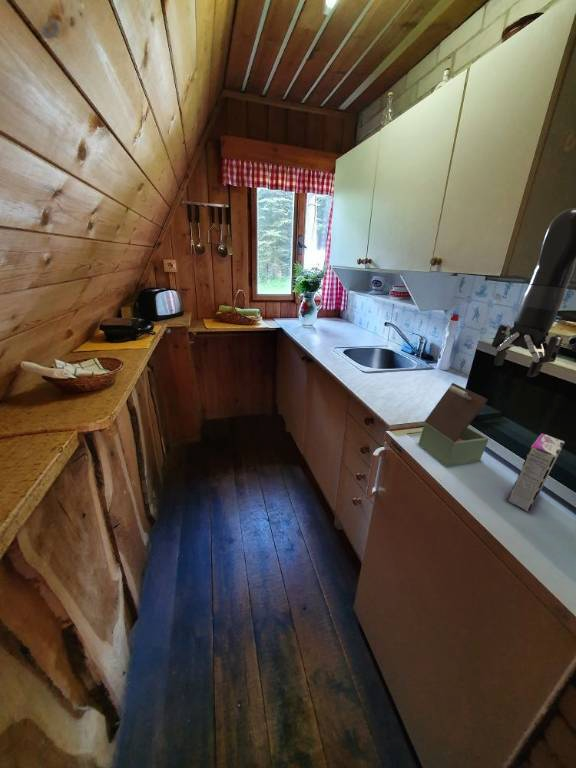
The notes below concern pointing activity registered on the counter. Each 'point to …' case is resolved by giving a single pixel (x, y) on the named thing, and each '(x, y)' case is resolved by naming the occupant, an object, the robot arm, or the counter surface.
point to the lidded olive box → (453, 446)
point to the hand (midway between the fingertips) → (513, 370)
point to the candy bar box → (535, 471)
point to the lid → (455, 411)
